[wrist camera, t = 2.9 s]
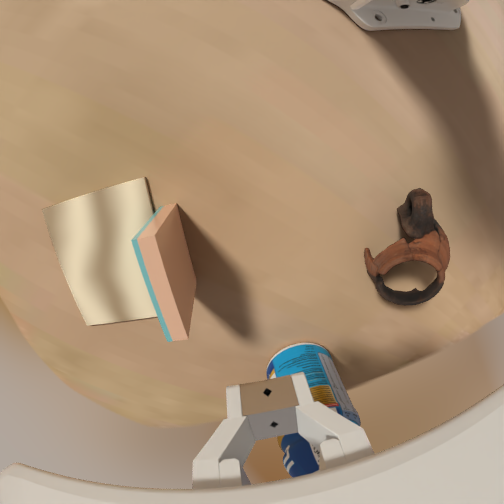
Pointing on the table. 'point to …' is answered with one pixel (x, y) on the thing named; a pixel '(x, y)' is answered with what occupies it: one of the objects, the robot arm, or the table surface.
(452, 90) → the table surface
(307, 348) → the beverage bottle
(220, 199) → the table surface
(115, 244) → the cream cloth
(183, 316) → the glazed tile
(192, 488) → the robot arm
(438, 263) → the brown ring-shaped piece
